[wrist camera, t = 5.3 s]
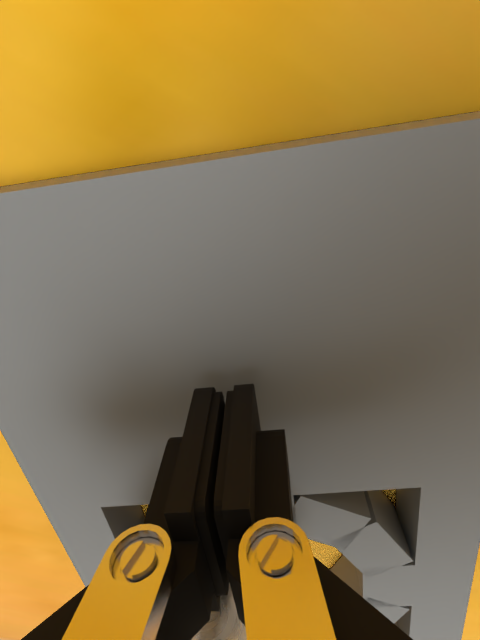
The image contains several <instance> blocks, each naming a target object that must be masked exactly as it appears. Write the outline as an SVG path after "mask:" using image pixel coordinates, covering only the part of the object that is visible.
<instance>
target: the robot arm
mask: <svg viewBox="0 0 480 640" xmlns="http://www.w3.org/2000/svg"><path fill="white" fill-rule="evenodd" d="M229 583H230V587H231V591H232V595H233V598H234V602H235V606H236V610H237V614H238V618H239V620H240V621H241V622H242V623H243V624H244V626H245V627H246V637H247V640H413V639H412V638H411V637H409V636H408V635H407V634H406V633H405V632H403V631H402V630H401V629H400V628H399V627H397V626H396V625H395V624H394V623H393V622H391V621H390V620H389V619H388V618H387V617H385V616H384V615H383V614H382V613H381V612H380V611H378V610H377V609H376V608H375V607H374V606H372V605H371V604H370V603H369V602H368V601H366V600H365V599H364V598H363V597H362V596H360V595H359V594H358V593H357V592H356V591H354V590H353V589H352V588H351V587H350V586H348V585H347V584H346V583H345V582H344V581H342V580H341V579H340V578H339V577H338V576H336V575H335V574H334V573H333V572H332V571H330V570H329V569H328V568H327V567H326V566H325V565H323V564H322V563H321V562H320V561H319V560H317V559H316V558H315V557H314V556H313V554H312V550H311V546H310V543H309V541H308V538H307V536H306V534H305V532H304V531H303V530H302V529H301V528H300V527H299V526H298V525H297V524H295V523H293V511H292V499H291V486H290V474H289V464H288V454H287V445H286V436H285V429H279V430H266V431H261V427H260V420H259V414H258V407H257V401H256V394H255V388H254V384H242V385H234V390H233V391H227V395H226V403H225V402H224V397H223V393H222V392H216V390H215V388H214V387H208V388H196V389H194V392H193V396H192V400H191V404H190V408H189V412H188V416H187V420H186V425H185V429H184V433H183V437H171V438H169V439H168V441H167V444H166V447H165V451H164V454H163V458H162V461H161V464H160V468H159V471H158V475H157V478H156V482H155V485H154V489H153V492H152V496H151V499H150V503H149V506H148V509H147V513H146V516H145V520H144V523H143V524H140V525H137V526H134V527H131V528H129V529H127V530H126V531H124V532H123V533H121V534H120V535H119V536H118V537H117V538H116V539H115V540H114V541H113V542H112V543H111V544H110V546H109V547H108V549H107V551H106V552H105V554H104V556H103V558H102V560H101V562H100V564H99V566H98V568H97V570H96V572H95V574H94V576H93V578H92V580H91V582H90V584H89V585H88V586H87V587H85V588H84V589H83V590H82V591H80V592H79V593H78V594H77V595H76V596H74V597H73V598H72V599H71V600H69V601H68V602H67V603H66V604H64V605H63V606H62V607H61V608H59V609H58V610H57V611H56V612H54V613H53V614H52V615H51V616H50V617H48V618H47V619H46V620H45V621H43V622H42V623H41V624H40V625H38V626H37V627H36V628H35V629H33V630H32V631H31V632H30V633H29V634H27V635H26V636H25V637H24V638H22V639H21V640H199V637H200V630H201V628H202V627H203V626H204V625H205V624H206V623H207V622H208V621H209V620H210V615H211V612H213V611H219V609H220V597H221V596H223V595H228V591H229Z"/></svg>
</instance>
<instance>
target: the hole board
mask: <svg viewBox="0 0 480 640" xmlns="http://www.w3.org/2000/svg"><path fill="white" fill-rule="evenodd" d="M242 384H254V388H255V394H256V401H257V407H258V414H259V420H260V427H261V431H266V430H279V429H285V436H286V445H287V454H288V464H289V474H290V486H291V499H292V511H293V523H295V524H297V525H298V526H299V527H300V528H301V529H302V530H303V531H304V532H305V534H306V536H307V538H308V539H310V540H313V541H317V542H320V543H323V544H327V545H330V546H333V547H336V548H337V549H338V550H339V551H340V552H341V553H342V554H343V555H342V557H341V558H340V559H339V560H338V561H337V562H336V564H335V565H334V566H333V567H332V568H331V569H329V570H330V571H332V572H333V573H334V574H335V575H336V576H338V577H339V578H340V579H341V580H342V581H344V582H345V583H346V584H347V585H348V586H350V587H351V588H352V589H353V590H354V591H356V592H357V593H358V594H359V595H360V596H362V597H363V598H364V599H365V600H366V601H368V602H369V603H370V604H371V605H372V606H374V607H375V608H376V609H377V610H378V611H380V612H381V613H382V614H383V615H384V616H385V617H387V618H388V619H389V620H390V621H391V622H393V623H394V624H395V625H396V626H397V627H399V628H400V629H401V630H402V631H403V632H405V633H406V634H407V635H408V636H409V637H411V638H412V639H413V640H461V638H462V633H463V628H464V622H465V617H466V612H467V606H468V601H469V596H470V591H471V585H472V580H473V575H474V570H475V564H476V559H477V554H478V549H479V543H480V111H477V112H470V113H464V114H458V115H451V116H445V117H439V118H432V119H426V120H420V121H413V122H407V123H401V124H395V125H388V126H382V127H376V128H369V129H363V130H357V131H350V132H344V133H338V134H331V135H325V136H319V137H312V138H306V139H300V140H293V141H287V142H281V143H274V144H268V145H262V146H255V147H249V148H243V149H236V150H230V151H224V152H217V153H211V154H205V155H198V156H192V157H186V158H179V159H173V160H167V161H161V162H154V163H148V164H142V165H135V166H129V167H123V168H116V169H110V170H104V171H97V172H91V173H85V174H78V175H72V176H66V177H59V178H53V179H47V180H40V181H34V182H28V183H21V184H15V185H9V186H2V187H0V430H1V432H2V434H3V436H4V438H5V440H6V441H7V443H8V445H9V447H10V449H11V451H12V452H13V454H14V456H15V458H16V460H17V462H18V463H19V465H20V467H21V469H22V471H23V473H24V474H25V476H26V478H27V480H28V482H29V484H30V486H31V487H32V489H33V491H34V493H35V495H36V497H37V498H38V500H39V502H40V504H41V506H42V508H43V509H44V511H45V513H46V515H47V517H48V519H49V520H50V522H51V524H52V526H53V528H54V530H55V531H56V533H57V535H58V537H59V539H60V541H61V542H62V544H63V546H64V548H65V550H66V552H67V554H68V555H69V557H70V559H71V561H72V563H73V565H74V566H75V568H76V570H77V572H78V574H79V576H80V577H81V579H82V581H83V583H84V585H85V587H87V586H88V585H89V584H90V582H91V580H92V578H93V576H94V574H95V572H96V570H97V568H98V566H99V564H100V562H101V560H102V558H103V556H104V554H105V552H106V551H107V549H108V547H109V546H110V544H111V543H112V542H113V541H114V540H115V539H116V538H117V537H118V536H119V535H120V534H121V533H123V532H124V531H126V530H127V529H129V528H131V527H134V526H137V525H140V524H143V523H144V520H145V516H144V514H143V511H142V508H141V506H140V505H144V504H149V503H150V499H151V496H152V492H153V489H154V485H155V482H156V478H157V475H158V471H159V468H160V464H161V461H162V458H163V454H164V451H165V447H166V444H167V441H168V439H169V438H171V437H183V433H184V429H185V425H186V420H187V416H188V412H189V408H190V404H191V400H192V396H193V392H194V389H196V388H208V387H214V388H215V390H216V392H222V393H223V397H224V402H225V403H226V395H227V391H233V390H234V385H242ZM387 489H396V509H395V506H394V504H393V503H392V502H391V501H390V500H389V499H388V498H387V496H386V495H385V494H384V493H383V492H382V491H381V490H387Z"/></svg>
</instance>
